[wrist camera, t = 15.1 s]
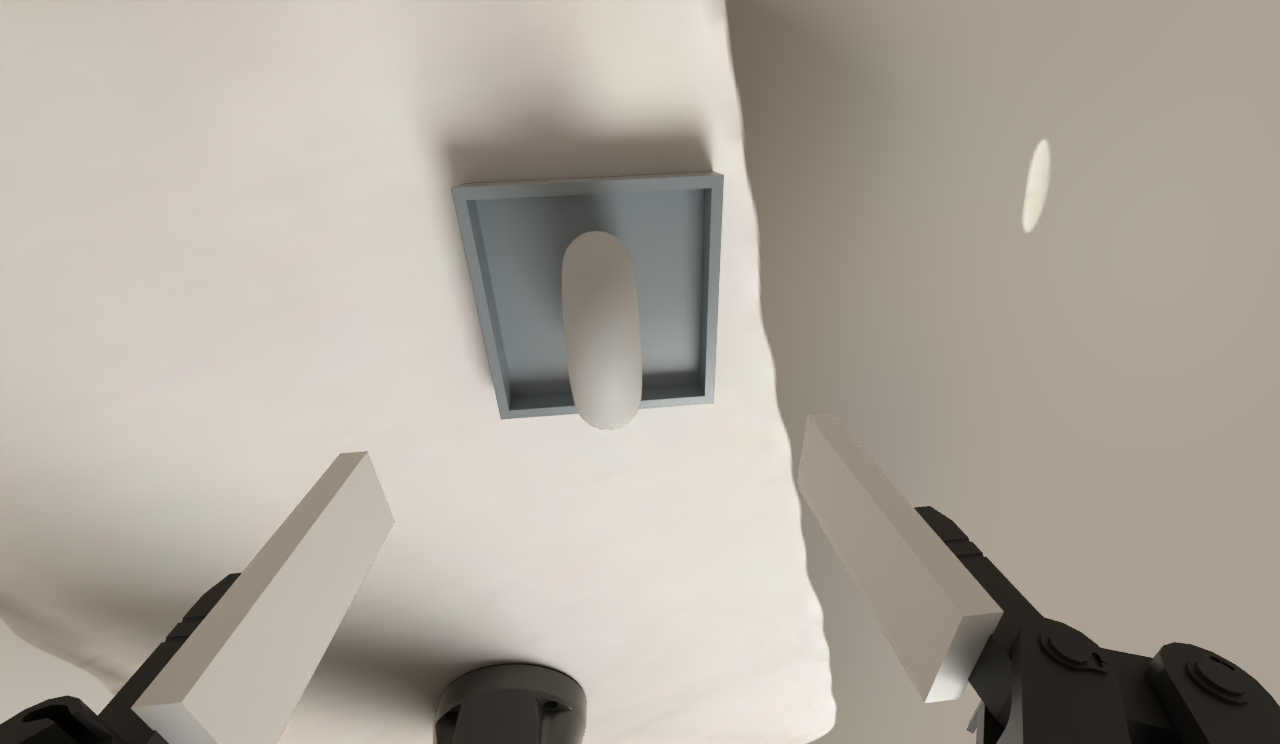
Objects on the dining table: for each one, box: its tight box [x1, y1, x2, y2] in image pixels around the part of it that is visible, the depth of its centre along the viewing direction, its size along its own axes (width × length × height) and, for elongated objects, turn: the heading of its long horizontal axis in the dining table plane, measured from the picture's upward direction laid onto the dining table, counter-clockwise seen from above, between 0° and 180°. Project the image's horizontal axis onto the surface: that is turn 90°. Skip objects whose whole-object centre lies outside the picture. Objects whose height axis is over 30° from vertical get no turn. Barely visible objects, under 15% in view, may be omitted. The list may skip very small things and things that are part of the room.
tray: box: [451, 172, 724, 419], centre depth 27 cm, size 14×14×2 cm
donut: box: [562, 231, 642, 430], centre depth 23 cm, size 10×3×10 cm, turn 2°
